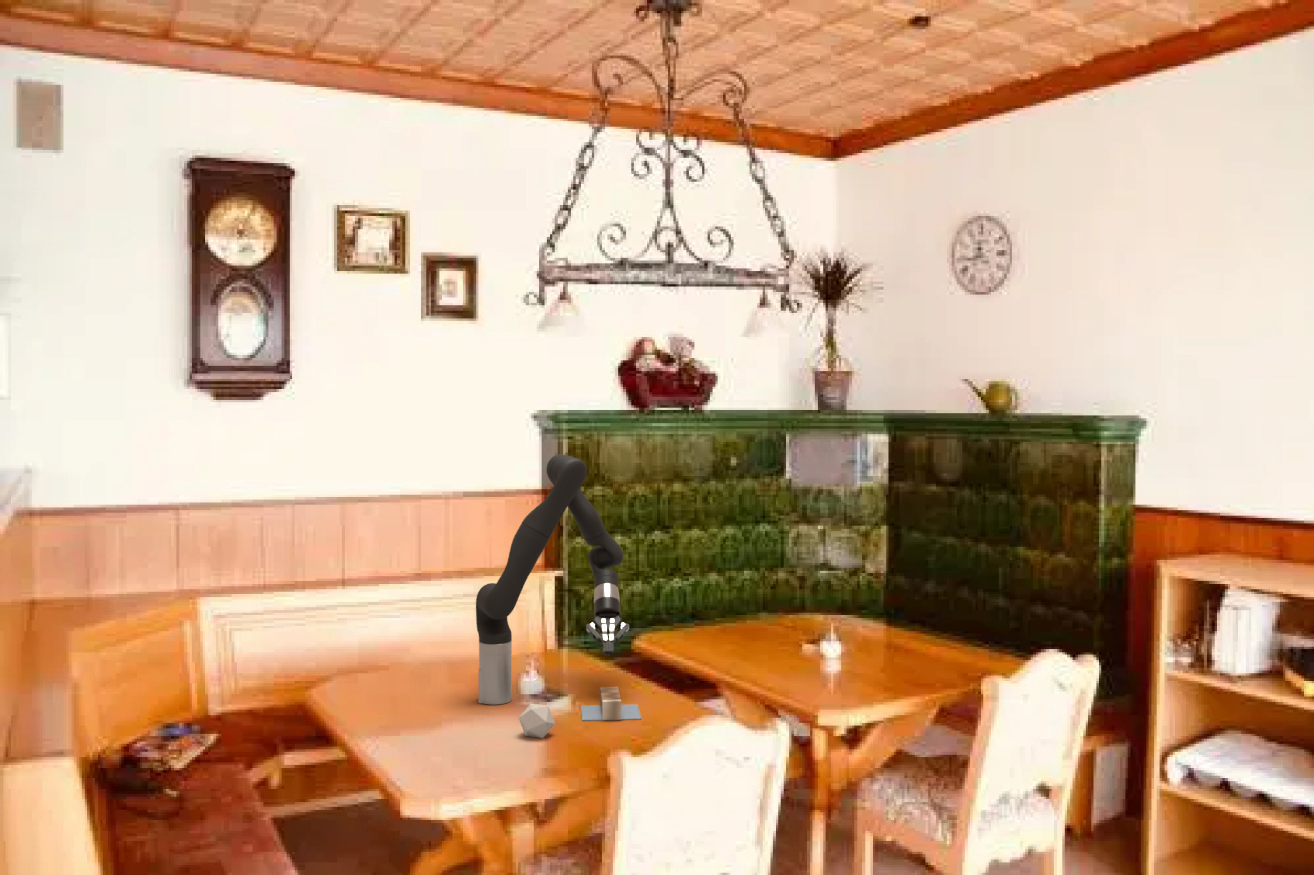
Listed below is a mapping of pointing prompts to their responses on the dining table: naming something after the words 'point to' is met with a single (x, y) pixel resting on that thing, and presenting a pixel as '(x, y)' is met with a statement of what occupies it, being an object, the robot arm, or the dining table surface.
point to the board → (595, 713)
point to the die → (536, 720)
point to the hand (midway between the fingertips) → (608, 654)
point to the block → (610, 703)
